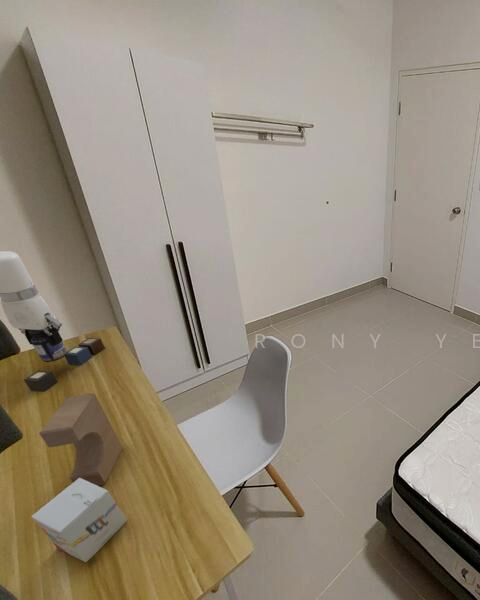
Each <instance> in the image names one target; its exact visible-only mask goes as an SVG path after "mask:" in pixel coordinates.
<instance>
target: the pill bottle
mask: <svg viewBox="0 0 480 600" xmlns="http://www.w3.org/2000/svg"><path fill="white" fill-rule="evenodd" d="M47 328H48V329H49V330H50V329H51V327H50V326H49V327H47ZM29 333H30V335H31V336H32V338H31V343H32V344H31V345H32V346H33V348H34V350H35V352H36V353H37V354H38V356H39V358H40V360H41V361H42V362H43V363H51V362H56V361H59V360H61V359H63V358H65V356H66V355H67V351H68V350H67V349H66V347H65V345H64V343H63V341H62V342H60V343H58V344H57V345H55V346H52V345H51V344H50V342H49V340H48V338H47V337H46V336H47V334H46V333H45V332H44V331H43V330H30V331H29Z"/></svg>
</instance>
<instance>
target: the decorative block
mask: <svg viewBox="0 0 480 600" xmlns="http://www.w3.org/2000/svg"><path fill="white" fill-rule="evenodd" d="M38 434H39V436H40V437H41V439H42V440H43V441H44V443H45V444H46V446H47V447H48V448H54V447H61V446H66V445H71V444H72V445H73V446H74V448H75V461H74V467H73V470H72V472H71V474H70V477H69V479H70V481H71V482H72V483H74V482H75V481H76V480H77V479H78V478H81V479H84V480H86V481H88V482H90V483H92V484H95V485H97V486H99V487H101V486H104V485H105V484H106V483H107V480H108V479H109V476H110V475H111V473H112V470H113V469H114V466H115V464H116V462H117V460H118V458H119V457H120V454H121V452H122V450H123V445H122V443H121V440H120V439H119V437H118V435H117V434H116V431H115V429H114V428H113V426H112V424H111V422H110V420H109V418H108V416H107V414H106V412H105V411H104V409H103V407H102V405H101V403H100V401H99V398H98V397H97V395H96V393H94V392H90V393H84V394H77V395H71V396H67V397H66V398H65V399H64V400H63V402H61V404H60V405H59V407H58V408H57V409H56V411H55V412H54V413H53V414H52V416H51V417H50V418H49V420H47V422H46V423H45V425H44V426H43V427H42V428H41V430H40V431H39V433H38Z"/></svg>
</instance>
